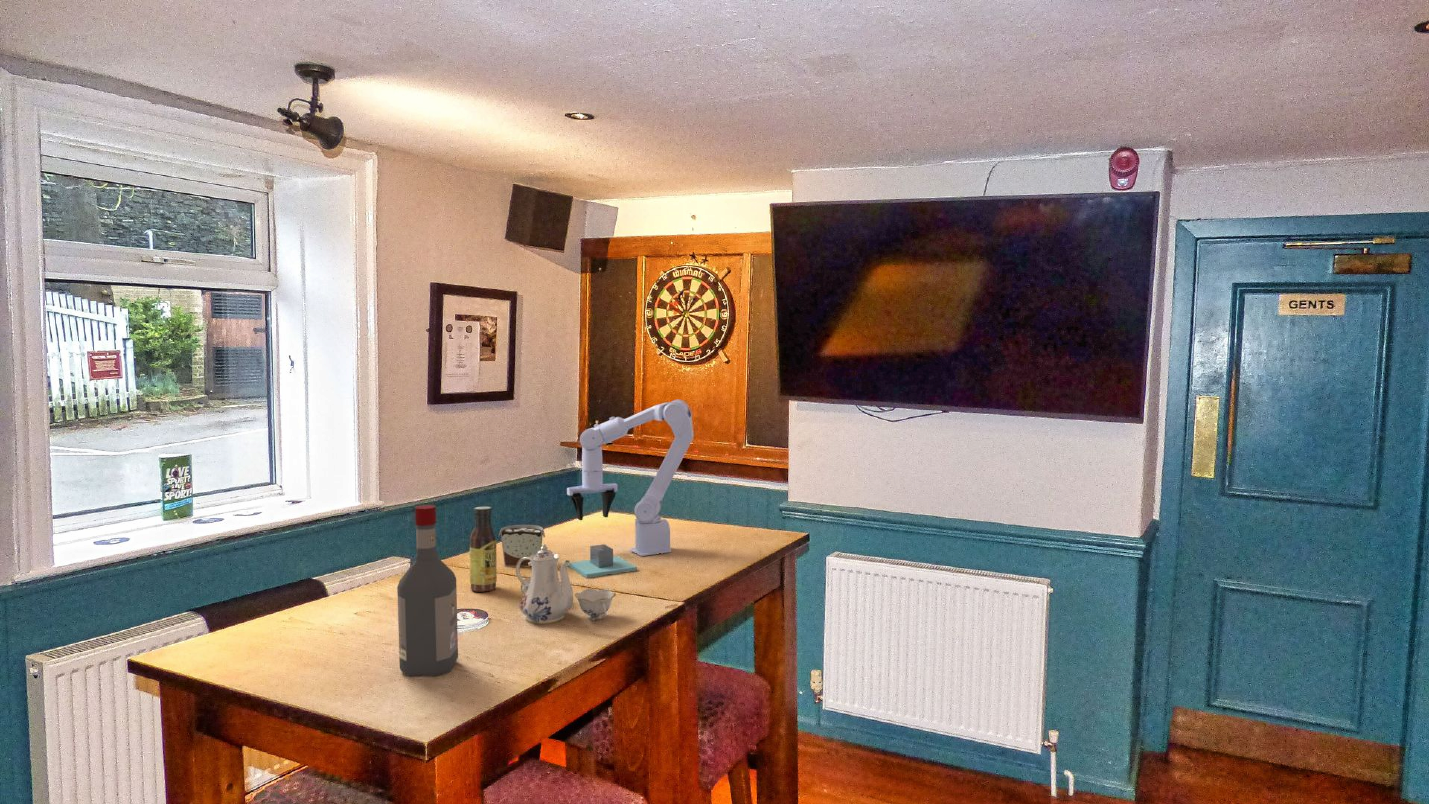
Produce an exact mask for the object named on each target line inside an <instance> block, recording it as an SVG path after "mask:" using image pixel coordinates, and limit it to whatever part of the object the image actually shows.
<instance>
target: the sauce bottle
mask: <svg viewBox="0 0 1429 804" xmlns="http://www.w3.org/2000/svg"><path fill="white" fill-rule="evenodd" d="M492 511H493V510H492V507H491V506H477V507H474V509H473V513H474V528H473V530H472V531H471V533H470V537H469V542H470V543H469V583H470V589H471V591H473V592H477V593H478V592H479V593H483V592H491V591H493V590H495V589H496V586H497V581H498V580H497V579H498V575H497V569H498V568H497V567H498V566H497V539H496V534H495V532H494V529H493V526H492Z"/></svg>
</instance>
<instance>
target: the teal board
mask: <svg viewBox="0 0 1429 804" xmlns="http://www.w3.org/2000/svg"><path fill="white" fill-rule="evenodd" d="M567 567H569V568H570V569H572V570H573V571H574V572H576V573H578V574H580V575H581V576H582V577H584V578H585V577H586V578H585V579H590V578H589V577H592V578H597V576H598V577H602V576H601V575H605V576H607V575H606V574H612V575H618V574H617V573H619V574H622V573H621V572H626V573H628V572H627V571H633V572H638V567H637V566H636V565H634V564H633V563H631V562H629V561H627V560H626V559H623V558H621V557H619V556H618V555H617V556H616V555H615V556H614V555H613V566H610V567H603V568H598V567H596V566H595V565H593V564H591V563H590V559H585V560H580V561H579V560H577V561H572V562H569V563H568V565H567Z"/></svg>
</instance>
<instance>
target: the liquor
mask: <svg viewBox="0 0 1429 804" xmlns="http://www.w3.org/2000/svg"><path fill="white" fill-rule="evenodd" d="M436 508H437V507H436V505H434V504H422V505H421V504H420V505H417V506H415V507H414V525H416V526H415V527H416V530H415V531H416V534H415V535H416V554H415V556H414V557H415V558H414V561H413V563H411V565H410V567H408V569H407V570H406V572H405V573H404V574H403V576H401V578H400V579H399V581H398V584H397V587H396V589H397V617H398V619H397V622H398V624H397V625H398V654H399V655H398V656H399V657H398V659H399V670H400V671H401V673H402V674H404V675H405V676H408V677H410V678H411V677H412V678H413V677H437V676H442V675H444V674H448V673H449V672H450V671H451V670H452V669H453V667H454V665H455V664H456V663H457V661H458V659H459V644H458V643H459V642H458V639H459V637H458V601H457V600H458V595H457V592H458V591H457V577H456V575H455V572H454V571H453V570H452V569H451V568H449V566H448V565H447V564H446V563H444V561H442V560H441V559H440V558H439V553H438V551H437V540H436V538H437V535H436V533H437V532H436V523H437V511H436V510H437V509H436Z"/></svg>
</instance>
